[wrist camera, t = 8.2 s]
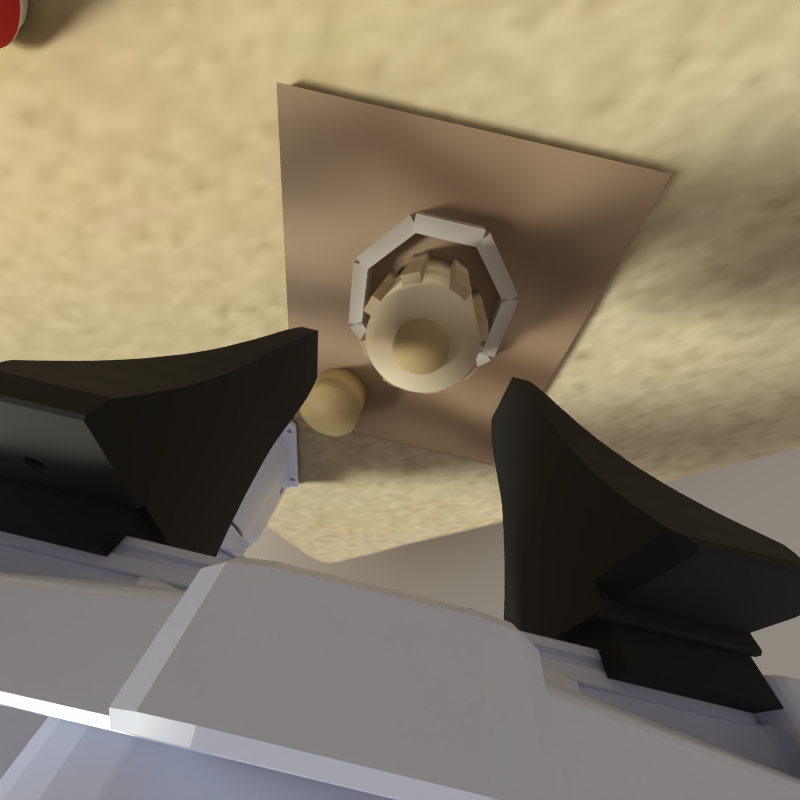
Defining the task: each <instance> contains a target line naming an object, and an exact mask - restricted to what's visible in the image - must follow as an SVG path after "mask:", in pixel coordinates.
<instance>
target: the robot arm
mask: <svg viewBox="0 0 800 800" xmlns="http://www.w3.org/2000/svg"><path fill="white" fill-rule="evenodd" d="M317 370H318V330H314V329H309V328H305V327H297V328H292V329H288V330H285V331H281V332H278V333H275V334H271V335H268V336H264V337H261V338H258V339H254V340H250V341H246V342H242V343H239V344H235V345H231V346H227V347H222V348H218V349H213V350H207V351H201V352H195V353H189V354H182V355H172V356H163V357H153V358H143V359H127V360H103V361H27V360H9V361H4V362H0V800H800V680H799V679H795V678H790V677H785V676H778V675H762V673H761V672H760V670H759V669H758V667H757V666H756V664H755V663H754V661H753V660H752V658H751V656H753V657H757V656H761V653H762V650H761V649H760V647H759V646H758V644H757V643H756V641H755V640H754V638H753V637H752V635H751V634H750V633H751V632H754V631H756V630H760V629H763V628H765V627H768V626H771V625H774V624H777V623H780V622H783V621H786V620H789V619H791V618H795V617H797V616H799V615H800V558H799V557H798V556H797V555H796V554H795V553H794V552H793V551H791V550H790V549H789V548H787V547H786V546H785V545H783V544H781V543H779V542H777V541H775V540H773V539H770V538H768V537H766V536H764V535H762V534H760V533H758V532H756V531H754V530H752V529H749V528H748V527H746V526H743V525H741V524H739V523H737V522H735V521H733V520H731V519H729V518H727V517H725V516H723V515H721V514H719V513H717V512H715V511H713V510H711V509H709V508H707V507H705V506H703V505H702V504H700V503H698V502H696V501H694V500H692V499H690V498H689V497H687V496H685V495H683V494H681V493H679V492H677V491H676V490H674V489H672V488H671V487H669V486H667V485H665V484H664V483H662V482H660V481H659V480H657V479H656V478H654V477H652V476H651V475H649V474H647V473H646V472H644V471H643V470H641V469H639V468H638V467H636V466H635V465H633V464H632V463H630V462H629V461H627V460H626V459H624V458H623V457H621V456H620V455H619V454H617V453H616V452H614V451H613V450H612V449H610V448H609V447H607V446H606V445H605V444H603V443H602V442H601V441H599V440H598V439H597V438H595V437H594V436H593V435H592V434H590V433H589V432H588V431H587V430H586V429H584V428H583V427H582V426H581V425H580V424H578V423H577V422H576V421H575V420H574V419H573V418H571V417H570V416H569V415H568V414H567V413H566V412H565V411H564V410H563V409H561V408H560V407H559V406H558V405H557V404H556V403H555V402H554V401H553V400H552V399H550V398H549V397H548V396H547V395H546V394H545V393H544V392H543V391H542V390H540V389H539V388H538V387H537V386H536V385H534V384H533V383H532V382H530V381H528V380H524V379H519V378H515V377H512V379H511V381H510V383H509V385H508V387H507V389H506V391H505V393H504V395H503V397H502V399H501V401H500V403H499V405H498V407H497V409H496V411H495V413H494V415H493V417H492V419H491V439H492V448H493V454H494V460H495V465H496V471H497V477H498V482H499V488H500V493H501V501H502V511H503V527H504V554H505V555H504V556H505V602H504V620H502V619H500V618H497V617H494V616H492V615H489V614H486V613H483V612H481V611H478V610H476V609H472V608H467V607H463V606H459V605H455V604H451V603H446V602H443V601H438V600H434V599H430V598H426V597H421V596H418V595H413V594H410V593H405V592H401V591H397V590H392V589H388V588H385V587H381V586H376V585H372V584H368V583H364V582H360V581H356V580H351V579H347V578H343V577H339V576H335V575H331V574H327V573H323V572H318V571H314V570H310V569H306V568H302V567H298V566H293V565H290V564H285V563H281V562H276V561H269V560H260V559H252V558H246V557H244V556H243V554H244V552H245V551H246V549H247V548H248V547H250V546H251V545H252V544H253V543H254V542H255V541H256V540H257V539H258V538H259V537H260V535H261V534H262V532H263V530H264V528H265V526H266V525H267V523H268V521H269V519H270V517H271V516H272V514H273V512H274V510H275V508H276V507H277V505H278V503H279V501H280V499H281V498H282V496H283V494H284V492H285V490H286V489H287V487H292V488H296V487H297V486H298V484H299V479H298V454H297V430H296V424H295V423H294V422H293V421H291V420H292V419H293V417H294V416H295V414H296V413H297V412H298V410H299V409H300V407H301V406H302V405H303V403H304V402H305V400H306V399H307V397H308V395H309V394H310V392H311V390H312V388H313V386H314V384H315V382H316V380H317ZM291 430H292V431H291Z"/></svg>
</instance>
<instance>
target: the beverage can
mask: <svg viewBox="0 0 800 800" xmlns="http://www.w3.org/2000/svg"><path fill="white" fill-rule="evenodd" d="M27 9H28V0H0V48H3V47H5V46H7V45H9V44H10V43H11V42H12V41H13V40H14V39H15V37H16V35H17V33H18V30H19V29H20V28H21V26H22V25H23V24H24V22H25V19H26V15H27Z"/></svg>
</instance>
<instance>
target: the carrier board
mask: <svg viewBox="0 0 800 800" xmlns="http://www.w3.org/2000/svg"><path fill="white" fill-rule="evenodd" d="M277 99H278V119H279V140H280V160H281V181H282V201H283V222H284V242H285V263H286V283H287V304H288V324H289V329H292V328H297V327H305V328H309V329H314V330H318V370H317V380H316V382H315V384H314V386H313V388H312V390H311V392H310V394H309V395H308V397H307V399H306V400H305V402H304V403H303V405H302V406H301V407H300V409H299V410H298V412H297V413H296V414H295V416H294V417H293V418H297V419H301V420H305V422H306V423H307V424H308V425H309V426H310V427H311V428H312V429H314V430H315V431H317V432H319V433H321V434H324V435H327V436H343V435H346V434H348V433H350V432H351V431H352V432H356V433H360V434H364V435H368V436H373V437H377V438H381V439H385V440H389V441H394V442H398V443H402V444H406V445H410V446H414V447H419V448H423V449H427V450H431V451H435V452H440V453H444V454H448V455H452V456H456V457H460V458H465V459H469V460H473V461H477V462H481V463H486V464H490V465H494V466H496V465H495V460H494V454H493V448H492V439H491V419H492V417H493V415H494V413H495V411H496V409H497V407H498V405H499V403H500V401H501V399H502V397H503V395H504V393H505V391H506V389H507V387H508V385H509V383H510V381H511V379H512V377H515V378H519V379H524V380H528V381H530V382H532V383H533V384H534V385H536V386H537V387H538V388H539V389H540V390H542V391H543V390H544V389H545V387H546V385H547V383H548V382H549V380H550V378H551V377H552V375H553V373H554V372H555V370H556V368H557V367H558V365H559V363H560V362H561V360H562V358H563V357H564V355H565V353H566V352H567V350H568V348H569V346H570V345H571V343H572V341H573V340H574V338H575V336H576V335H577V333H578V331H579V330H580V328H581V326H582V325H583V323H584V321H585V320H586V318H587V316H588V315H589V313H590V311H591V309H592V308H593V306H594V304H595V303H596V301H597V299H598V298H599V296H600V294H601V293H602V291H603V289H604V288H605V286H606V284H607V283H608V281H609V279H610V277H611V276H612V274H613V272H614V271H615V269H616V267H617V266H618V264H619V262H620V261H621V259H622V257H623V256H624V254H625V252H626V251H627V249H628V247H629V246H630V244H631V242H632V240H633V239H634V237H635V235H636V234H637V232H638V230H639V229H640V227H641V225H642V224H643V222H644V220H645V219H646V217H647V215H648V214H649V212H650V210H651V209H652V207H653V205H654V203H655V202H656V200H657V198H658V197H659V195H660V193H661V192H662V190H663V188H664V187H665V185H666V183H667V182H668V180H669V178H670V177H671V175H672V174H670V173H665V172H661V171H657V170H652V169H648V168H644V167H639V166H635V165H631V164H627V163H622V162H618V161H614V160H609V159H605V158H601V157H596V156H592V155H588V154H583V153H579V152H575V151H571V150H566V149H562V148H558V147H553V146H549V145H545V144H540V143H536V142H532V141H528V140H523V139H519V138H515V137H510V136H506V135H502V134H497V133H493V132H489V131H484V130H480V129H476V128H472V127H467V126H463V125H459V124H454V123H450V122H446V121H441V120H437V119H433V118H429V117H424V116H420V115H416V114H411V113H407V112H403V111H398V110H394V109H390V108H385V107H381V106H377V105H373V104H368V103H364V102H360V101H355V100H351V99H347V98H342V97H338V96H334V95H330V94H325V93H321V92H317V91H312V90H308V89H304V88H299V87H295V86H291V85H287V84H282V83H278V82H277ZM427 251H428V252H429V258H435V259H441V260H444V261H447V262H449V263H452V262H453V260H454V259H455V258H457V259H458V260H459V261H460V262H462V263H463V264H464V265H466V266H467V269H468V274H469V279H470V284H471V289H472V292H474V291H480V295H481V299H482V302H483V306H484V309H485V313H486V317H487V320H488V331H489V340H487V341H480V346H479V352H478V355H477V359H476V362H477V370H476V371H475V372H474V373H473V374H472V375H471V376H470V377H469V378H468V379H467V380H465V379H463V378H462V379H461V380H460V381H459V382H457V383H456V384H454V385H452V386H450V387H448V388H446V389H443V390H440V391H439V393H432V394H423V393H420V392H412V391H408V390H405V389H402V388H399V387H397V386H396V387H394V386H392V385H391V384H389V383H387V382H386V381H384V380H383V376H382V375H381V374H380V373H379V372H378V371H377V370H376V368H375V367H374V365H373V364H372V362H371V360H370V358H369V356H364V353H363V350H362V347H361V343H360V340H361V338H362V337H363V335H364V334H365V332H366V329H367V325H368V322H369V319H370V317H371V316H370V315H369V314H367V313H366V312H364V311H363V310H364V308H365V307H366V305H367V303H368V301H369V300H370V298H371V296H372V295H373V294H374V292H375V291H376V290H377V288H378V287H379V286H380V285H381V283H382V282H383V281H384V280H385V278H386V277H387V276H388V274H389V273H390V272H391V271H394V272H395V273H396V274H399V273H400V272H401V271H402V270H403V269H404V268H405V267H406V266H407V264H408V263H409V261H410V260H411V258H412V256H413V255H414V254H418V253H422V252H427Z"/></svg>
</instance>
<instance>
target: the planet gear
mask: <svg viewBox="0 0 800 800" xmlns="http://www.w3.org/2000/svg"><path fill="white" fill-rule="evenodd" d="M363 311H364V312H366V313H367V314H369V315H370V316H371V317H370V319H369V322H368V325H367V329H366V332H365V334H364V335H363V337H362V338H361V340H360V343H361V347H362V350H363V353H364V356H369V358H370V360H371V362H372V364H373V365H374V367H375V368H376V370H377V371H378V372H379V373H380V374H381V375H382V376H383V380H384V381H386V382H387V383H389V384H391V385H392V386H394V387H396V386H397V387H399V388H402V389H405V390H408V391H412V392H420V393H423V394H432V393H439V391H440V390H443V389H446V388H448V387H450V386H452V385H454V384H456V383H457V382H459V381H460V380H461V379H462V378H463V379H465V380H467V379H468V378H469V377H470V376H471V375H472V374H473V373H474V372H475V371H476V370H477V362H476V359H477V355H478V352H479V346H480V341H487V340H489V331H488V320H487V317H486V313H485V309H484V306H483V302H482V299H481V295H480V291H474V292H472V289H471V284H470V279H469V274H468V269H467V266H466V265H464V264H463V263H462V262H460V261H459V260H458V259H457V258H455V259H454V260H453V262H452V263H449V262H447V261H444V260H441V259H435V258H429V252H428V251H427V252H422V253H418V254H414V255H413V256H412V258H411V260H410V261H409V263H408V264H407V266H406V267H405V268H404V269H403V270H402V271H401V272H400V273H399V274H396V273H395V272H394V271H391V272H390V273H389V274H388V276H387V277H386V278H385V280H384V281H383V282H382V283H381V285H380V286H379V287H378V288H377V290H376V291H375V292H374V294H373V295H372V296H371V298H370V300H369V301H368V303H367V305H366V307H365V308H364V310H363Z"/></svg>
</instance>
